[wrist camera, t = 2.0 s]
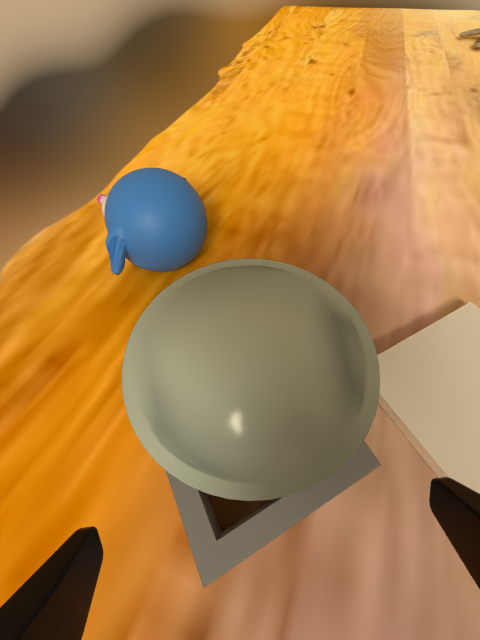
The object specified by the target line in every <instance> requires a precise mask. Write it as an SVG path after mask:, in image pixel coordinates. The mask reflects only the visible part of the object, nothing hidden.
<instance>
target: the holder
mask: <svg viewBox="0 0 480 640" xmlns="http://www.w3.org/2000/svg"><path fill="white" fill-rule="evenodd" d="M379 465H381V464H380V462H379V461H378V460H377V458H376V457H375V455H374V454H373V453H372V451H371V450H370V448H369V447H368V446H367V444H366V443H365V441H364V440H363V441H362V443H361V444H360V446H359V448H358V449H357V450H356V451H355V453H354V454H353V455H352V456H351V457H350V458H349V460H348V461H347V462H346V463H345V464H344V465H343V466H342V467H340V468H339V469H338V470H337V471H336V472H334V473H333V474H332V475H331V476H330V477H328V478H326V479H325V480H323V481H321V482H320V483H318V484H316V485H315V486H313V487H311V488H308V489H306V490H303V491H301V492H298V493H296V494H293V495H290V496H285V497H281V498H276V499H272V500H269V501H268V502H266V503H265V504H263V505H262V506H260V507H259V508H257V509H256V510H254V511H252V512H251V513H249V514H248V515H246V516H245V517H243V518H242V519H240V520H239V521H237V522H236V523H234V524H233V525H231V526H230V527H228V528H227V529H225V530H223V531H222V529H221V527H220V524H219V522H218V519H217V516H216V514H215V511H214V508H213V506H212V503H211V501H210V498H209V495H208V494H207V493H205V492H202V491H200V490H198V489H195V488H193V487H191V486H189V485H187V484H185V483H183V482H182V481H180V480H179V479H177V478H176V477H174V476H173V475H171V474H170V473H168V472H167V471H166V472H167V476H168V479H169V482H170V485H171V488H172V491H173V494H174V497H175V500H176V504H177V507H178V510H179V513H180V516H181V519H182V522H183V525H184V528H185V531H186V535H187V538H188V541H189V544H190V547H191V550H192V553H193V556H194V559H195V563H196V566H197V569H198V572H199V575H200V578H201V581H202V584H203V587H206V586H207V585H209V584H210V583H211V582H213V581H214V580H216V579H217V578H219V577H220V576H221V575H223V574H224V573H226V572H227V571H229V570H230V569H232V568H233V567H234V566H236V565H237V564H239V563H240V562H242V561H243V560H244V559H246V558H247V557H249V556H250V555H252V554H253V553H255V552H256V551H257V550H259V549H260V548H262V547H263V546H265V545H266V544H267V543H269V542H270V541H272V540H273V539H275V538H276V537H277V536H279V535H280V534H282V533H283V532H285V531H286V530H288V529H289V528H290V527H292V526H293V525H295V524H296V523H298V522H299V521H300V520H302V519H303V518H305V517H306V516H308V515H309V514H311V513H312V512H313V511H315V510H316V509H318V508H319V507H321V506H322V505H323V504H325V503H326V502H328V501H329V500H331V499H332V498H334V497H335V496H336V495H338V494H339V493H341V492H342V491H344V490H345V489H346V488H348V487H349V486H351V485H352V484H354V483H355V482H357V481H358V480H359V479H361V478H362V477H364V476H365V475H367V474H368V473H369V472H371V471H372V470H374V469H375V468H377V467H378V466H379Z"/></svg>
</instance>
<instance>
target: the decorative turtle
mask: <svg viewBox="0 0 480 640" xmlns="http://www.w3.org/2000/svg"><path fill="white" fill-rule="evenodd" d="M478 34H480V29H474V30H469V31H466V32H463V33H460V36H461V37H464V36H472V35H478ZM474 46H475V47H478V48H480V39H479V40H477V41H476V42H475V43H474Z"/></svg>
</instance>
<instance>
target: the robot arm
mask: <svg viewBox="0 0 480 640" xmlns="http://www.w3.org/2000/svg"><path fill="white" fill-rule="evenodd" d="M429 503H430V507H431V510H432V512H433V514H434V516H435V517H436V519H437V521H438V522H439V524H440V526H441V527H442V529H443V530H444V532H445V534H446V535H447V537H448V539H449V540H450V542H451V544H452V545H453V547H454V549H455V550H456V552H457V553H458V555H459V557H460V558H461V560H462V562H463V563H464V565H465V567H466V568H467V570H468V571H469V573H470V575H471V576H472V578H473V579H474V581H475V582H476V584H477V585H478V587H479V588H480V494H479V493H478V492H476V491H474V490H472V489H470V488H468V487H467V486H465V485H463V484H461V483H459V482H457V481H455V480H454V479H452V478H449V477H440V478H434V479H432V481H431V487H430V499H429ZM102 560H103V547H102V544H101V541H100V537H99V534H98V531H97V528H95V527H93V526H92V527H85V528H80V529H78V530H77V531H75V532H74V533H73V534H72V535H71V536H70V537H69V538H68V539H67V540H66V541H65V542H64V543H63V544H62V545H61V546H60V547H59V549H58V550H57V551H56V552H55V553H54V554H53V555H52V556H51V557H50V558H49V559H48V560H47V561H46V562H45V563H44V564H43V565H42V566H41V567H40V568H39V569H38V570H37V571H36V572H35V573H34V574H33V575H32V576H31V577H30V578H29V579H28V580H27V581H26V582H25V583H24V584H23V585H22V586H21V587H20V588H19V589H18V590H17V591H16V592H15V593H14V594H13V595H12V596H11V597H10V598H9V599H8V600H7V601H6V602H5V603H4V604H3V605H2V606H1V607H0V640H81V639H82V636H83V632H84V629H85V625H86V621H87V617H88V613H89V610H90V606H91V602H92V598H93V595H94V591H95V587H96V583H97V579H98V576H99V572H100V568H101V564H102Z"/></svg>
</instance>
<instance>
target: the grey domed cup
mask: <svg viewBox="0 0 480 640" xmlns="http://www.w3.org/2000/svg"><path fill="white" fill-rule="evenodd" d="M122 390H123V399H124V403H125V407H126V411H127V415H128V417H129V420H130V422H131V425H132V427H133V430H134V431H135V433H136V435H137V437H138V438H139V440H140V442H141V443H142V445H143V446H144V448H145V449H146V450H147V451H148V453H149V454H150V455H151V456H152V457H153V459H154V460H155V461H156V462H157V463H158V464H160V465H161V466H162V467H163V468H164V469H165V470H166V471H167V472H168V473H170V474H171V475H173V476H174V477H176V478H177V479H179V480H180V481H182V482H183V483H185V484H187V485H189V486H191V487H193V488H195V489H198V490H200V491H202V492H205V493H207V494H211V495H215V496H218V497H222V498H226V499H234V500H244V501H258V500H272V499H276V498H281V497H285V496H290V495H293V494H296V493H298V492H301V491H303V490H306V489H308V488H311V487H313V486H315V485H316V484H318V483H320V482H321V481H323V480H325V479H326V478H328V477H330V476H331V475H332V474H333V473H334V472H336V471H337V470H338V469H339V468H340V467H342V466H343V465H344V464H345V463H346V462H347V461H348V460H349V458H350V457H351V456H352V455H353V454H354V453H355V451H356V450H357V449H358V448H359V446H360V444H361V443H362V441H363V439H364V438H365V436H366V435H367V433H368V431H369V428H370V426H371V424H372V421H373V419H374V416H375V413H376V408H377V404H378V400H379V391H380V369H379V361H378V357H377V352H376V348H375V345H374V342H373V340H372V337H371V334H370V332H369V330H368V328H367V326H366V324H365V322H364V321H363V319H362V318H361V316H360V315H359V313H358V312H357V310H356V309H355V308H354V307H353V305H352V304H351V303H350V302H349V301H348V300H347V299H346V297H344V296H343V295H342V294H341V293H340V292H339V291H338V290H337V289H336V288H334V287H333V286H332V285H330V284H329V283H327V282H326V281H325V280H323V279H321V278H320V277H318V276H316V275H314V274H313V273H311V272H308V271H306V270H304V269H302V268H299V267H296V266H293V265H290V264H287V263H283V262H279V261H274V260H267V259H252V258H246V259H233V260H227V261H221V262H217V263H213V264H210V265H207V266H204V267H201V268H199V269H196V270H194V271H192V272H190V273H188V274H186V275H184V276H183V277H181V278H179V279H178V280H176V281H174V282H173V283H172V284H170V285H169V286H168V287H167V288H165V289H164V290H163V291H162V292H161V293H160V294H159V295H158V296H157V297H155V298H154V299H153V301H152V302H151V303H150V304H149V305H148V307H147V308H146V309H145V310H144V312H143V313H142V315H141V316H140V318H139V319H138V321H137V323H136V325H135V327H134V329H133V331H132V333H131V335H130V338H129V341H128V344H127V347H126V350H125V355H124V360H123V366H122Z"/></svg>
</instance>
